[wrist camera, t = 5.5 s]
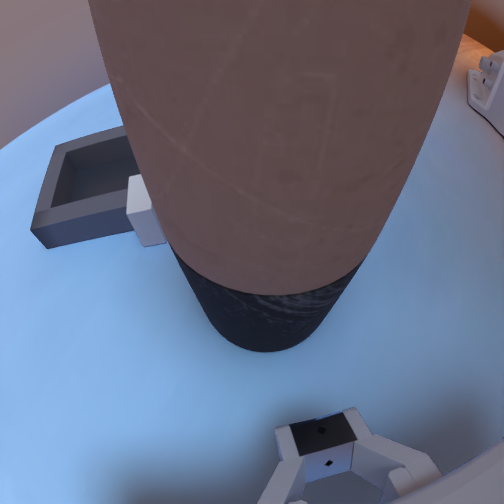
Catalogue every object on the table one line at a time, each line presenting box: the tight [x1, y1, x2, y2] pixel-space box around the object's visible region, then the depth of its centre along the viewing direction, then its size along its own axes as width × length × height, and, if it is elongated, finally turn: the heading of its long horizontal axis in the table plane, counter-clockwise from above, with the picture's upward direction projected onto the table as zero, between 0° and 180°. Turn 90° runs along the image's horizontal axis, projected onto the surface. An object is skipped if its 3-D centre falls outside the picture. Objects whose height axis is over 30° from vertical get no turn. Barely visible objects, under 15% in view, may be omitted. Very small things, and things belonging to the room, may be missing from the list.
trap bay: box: [30, 126, 141, 249], centre depth 21 cm, size 9×8×2 cm
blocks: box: [126, 174, 166, 247], centre depth 22 cm, size 12×14×4 cm
